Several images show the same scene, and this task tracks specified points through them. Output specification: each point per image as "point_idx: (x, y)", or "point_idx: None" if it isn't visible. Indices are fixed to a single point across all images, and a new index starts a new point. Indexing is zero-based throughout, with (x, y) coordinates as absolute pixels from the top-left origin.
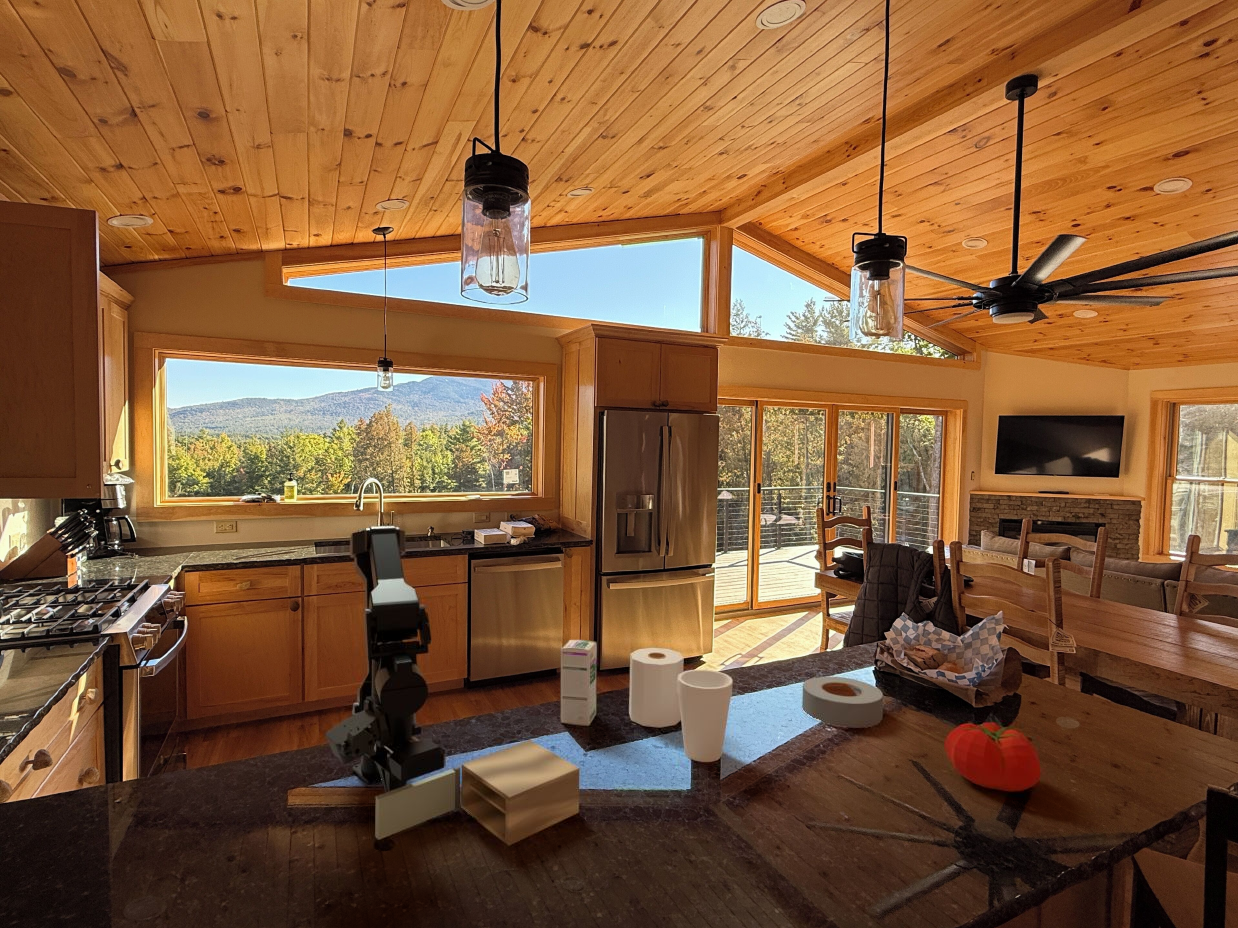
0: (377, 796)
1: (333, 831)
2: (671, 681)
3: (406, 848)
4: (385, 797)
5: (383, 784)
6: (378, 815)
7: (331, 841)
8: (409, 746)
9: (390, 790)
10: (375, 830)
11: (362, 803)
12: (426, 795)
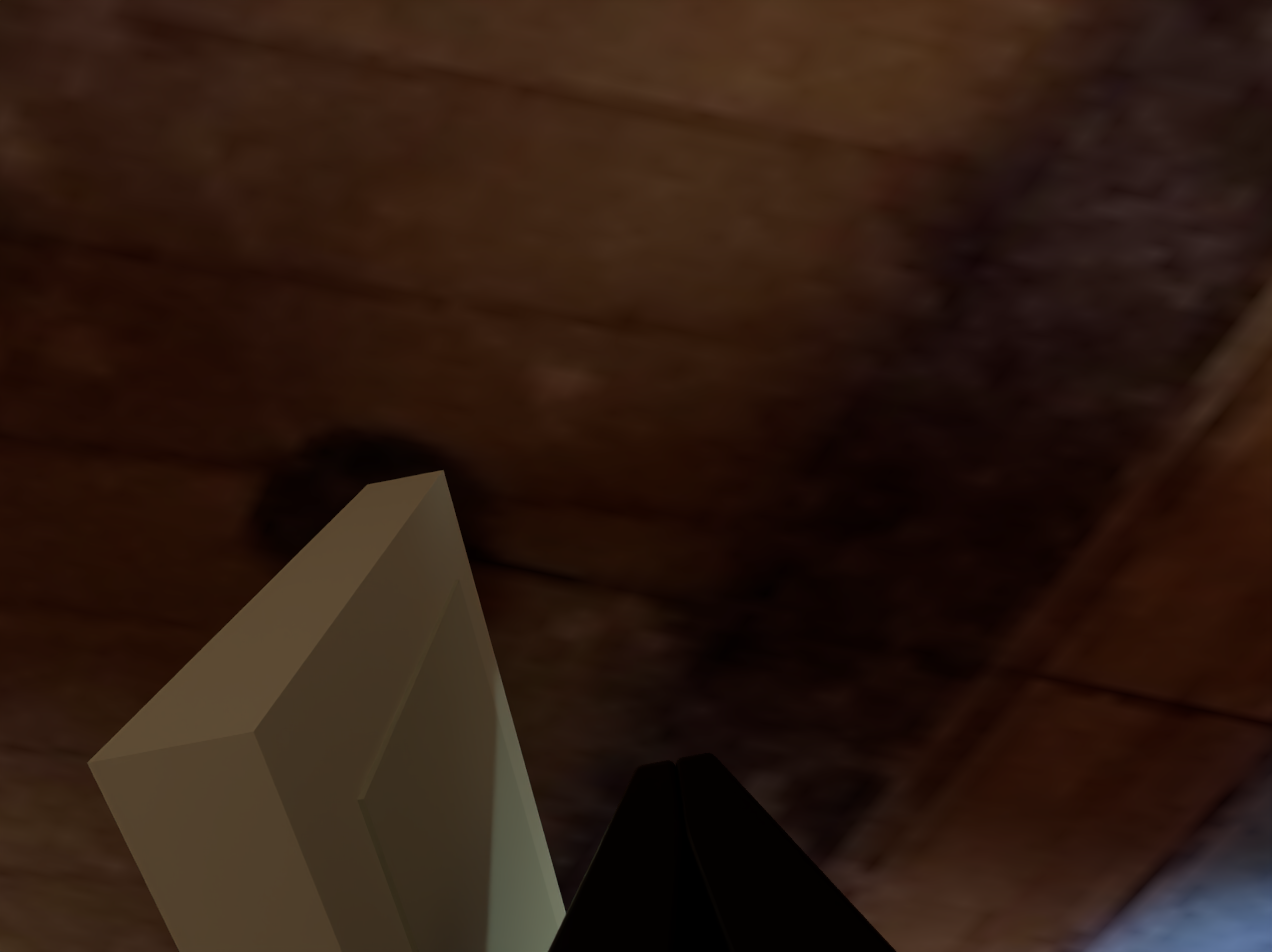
0: (223, 757)
1: (844, 119)
2: None
3: None
4: (161, 866)
5: (797, 891)
6: (268, 592)
7: (662, 58)
8: None
9: (562, 932)
10: (426, 490)
11: (1174, 489)
12: None
